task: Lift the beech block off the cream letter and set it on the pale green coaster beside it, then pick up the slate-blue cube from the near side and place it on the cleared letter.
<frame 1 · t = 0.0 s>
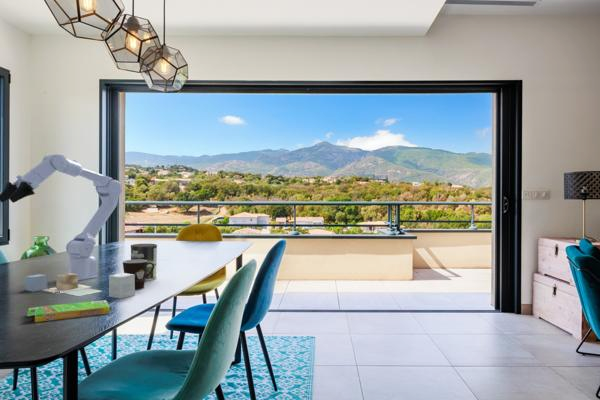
hand: (5, 200, 149), 32 cm above the table, tool tilted 50°, fingers open, 7 cm apart
mat: (83, 292, 148), on the table
skincare box: (121, 296, 144), on the table
cube: (36, 289, 152), on the table, touching letter
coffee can: (143, 279, 174), on the table
game box: (69, 316, 122), on the table
coffee mug: (139, 288, 158), on the table
letter: (67, 288, 154), on the table
block: (67, 288, 154), resting on letter
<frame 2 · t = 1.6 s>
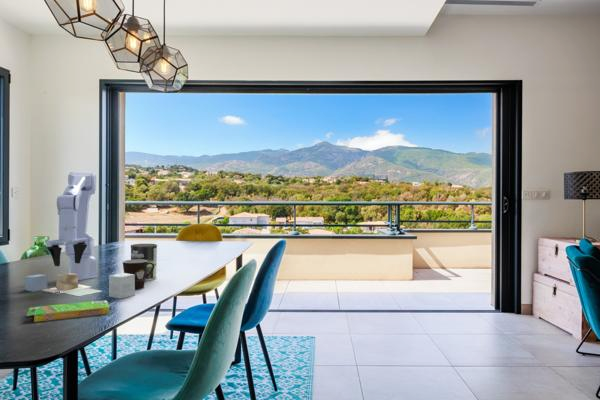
hand: (67, 264, 154), 9 cm above the table, tool pointing down, fingers open, 7 cm apart
nothing on the table moved.
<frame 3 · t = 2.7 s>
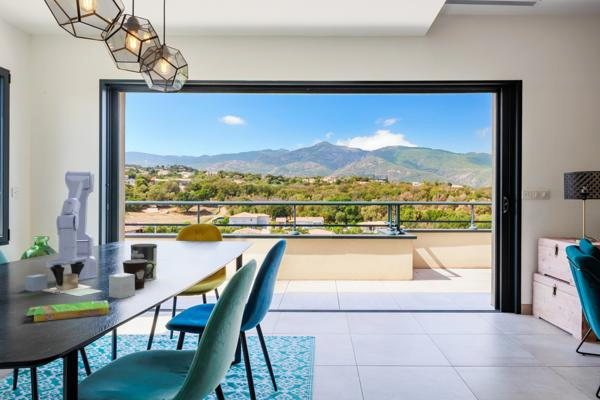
hand: (67, 284, 154), 2 cm above the table, tool pointing down, fingers closed on block, 5 cm apart
block: (67, 288, 154), resting on letter, touching gripper
everything else where it was.
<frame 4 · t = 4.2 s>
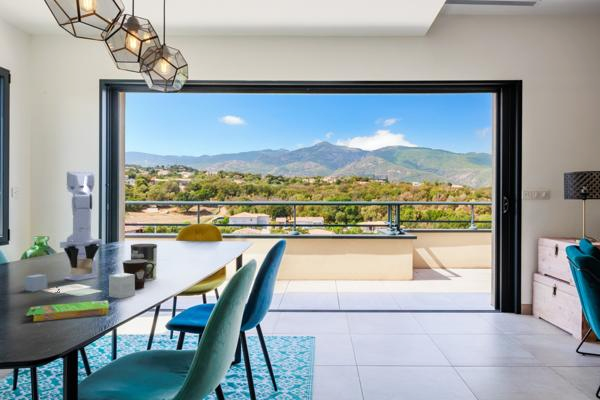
hand: (81, 266, 149), 9 cm above the table, tool pointing down, fingers closed on block, 5 cm apart
block: (81, 273, 149), point 7 cm above the table, touching gripper
everything else where it was.
when the fingers open (3 cm above the table, at t = 5.9 s): block stays where it is, resting on mat.
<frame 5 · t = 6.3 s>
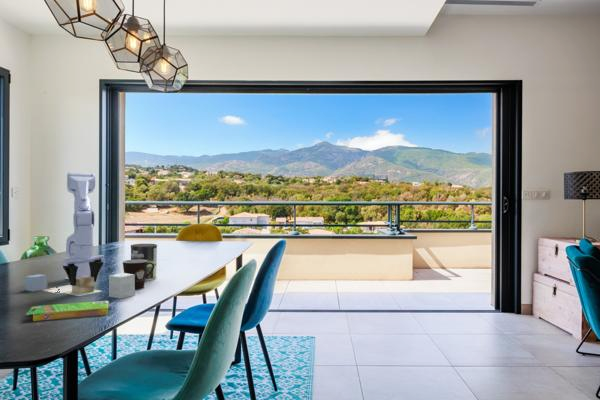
hand: (83, 283, 148), 3 cm above the table, tool pointing down, fingers open, 7 cm apart
block: (82, 291, 149), resting on mat
everything else where it was.
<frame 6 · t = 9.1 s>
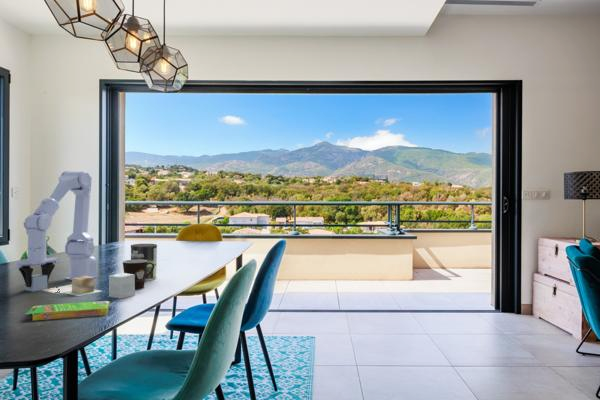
hand: (36, 285, 152), 2 cm above the table, tool pointing down, fingers closed on cube, 5 cm apart
cube: (36, 289, 152), on the table, touching gripper, letter
everything else where it was.
when the fingers open (3 cm above the table, at t = 12.5 s): cube stays where it is, resting on letter.
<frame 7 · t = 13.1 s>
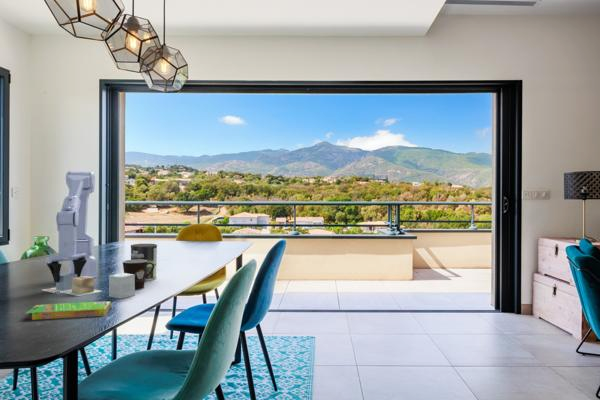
hand: (67, 280, 154), 3 cm above the table, tool pointing down, fingers open, 7 cm apart
cube: (66, 288, 154), resting on letter
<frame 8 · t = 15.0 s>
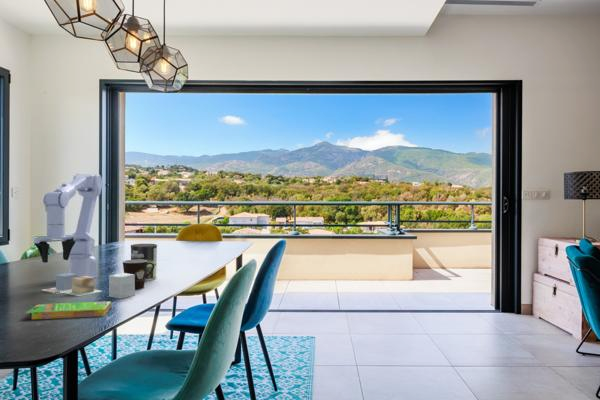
hand: (55, 261, 155), 10 cm above the table, tool pointing down, fingers open, 7 cm apart
at the end: cube inside the target area on the letter (0.5 cm from its centre), point 0.1 cm above the letter's base; block inside the target area on the mat (0.3 cm from its centre), point 0.2 cm above the mat's base; the gripper is holding nothing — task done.
